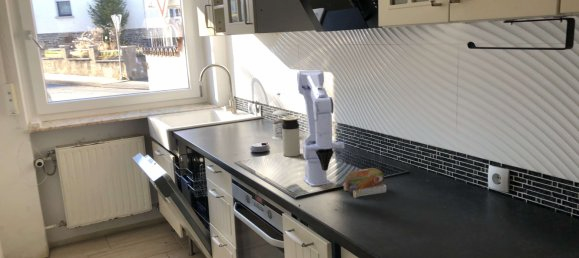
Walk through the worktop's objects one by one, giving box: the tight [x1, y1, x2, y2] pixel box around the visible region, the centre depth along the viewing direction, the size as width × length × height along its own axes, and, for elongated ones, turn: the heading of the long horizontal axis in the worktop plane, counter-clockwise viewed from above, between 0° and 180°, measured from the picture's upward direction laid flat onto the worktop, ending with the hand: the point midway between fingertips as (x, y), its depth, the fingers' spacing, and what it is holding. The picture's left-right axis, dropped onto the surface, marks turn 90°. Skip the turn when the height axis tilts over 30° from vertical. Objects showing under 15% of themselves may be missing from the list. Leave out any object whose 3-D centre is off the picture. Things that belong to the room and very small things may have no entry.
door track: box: [343, 182, 387, 199], centre depth 175 cm, size 10×13×2 cm
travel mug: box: [282, 116, 301, 158], centre depth 229 cm, size 8×8×18 cm
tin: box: [344, 167, 385, 194], centre depth 174 cm, size 15×3×8 cm, turn 113°
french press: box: [271, 92, 291, 140], centre depth 268 cm, size 10×12×25 cm
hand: (324, 169), depth 170 cm, fingers closed
